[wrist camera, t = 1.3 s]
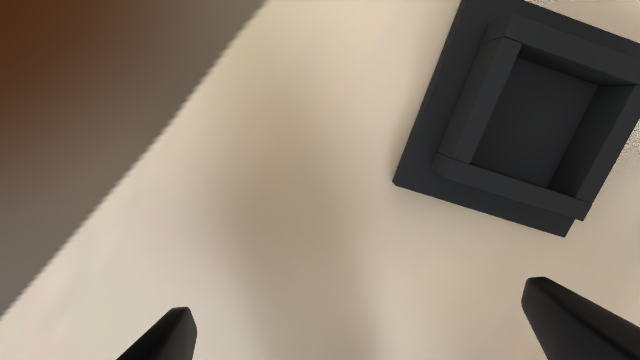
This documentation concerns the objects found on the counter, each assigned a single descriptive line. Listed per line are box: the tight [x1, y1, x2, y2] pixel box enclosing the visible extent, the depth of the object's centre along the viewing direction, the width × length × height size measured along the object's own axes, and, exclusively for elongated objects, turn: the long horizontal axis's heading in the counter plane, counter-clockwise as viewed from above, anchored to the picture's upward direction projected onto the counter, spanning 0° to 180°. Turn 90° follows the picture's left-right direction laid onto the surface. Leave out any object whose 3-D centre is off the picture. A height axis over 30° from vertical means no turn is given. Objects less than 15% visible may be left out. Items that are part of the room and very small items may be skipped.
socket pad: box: [392, 0, 640, 237], centre depth 20 cm, size 13×13×4 cm
